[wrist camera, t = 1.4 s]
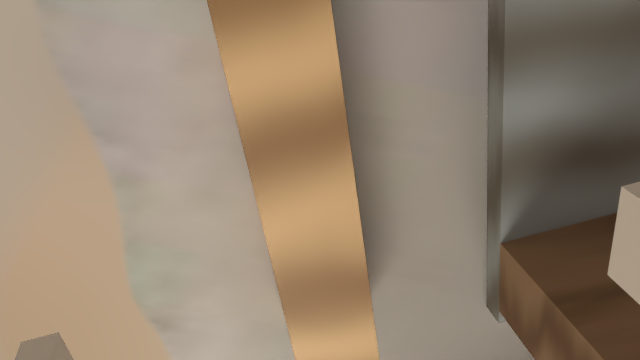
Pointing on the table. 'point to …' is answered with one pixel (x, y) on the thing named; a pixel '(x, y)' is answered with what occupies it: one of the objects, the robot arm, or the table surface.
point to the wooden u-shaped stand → (561, 172)
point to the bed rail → (300, 168)
